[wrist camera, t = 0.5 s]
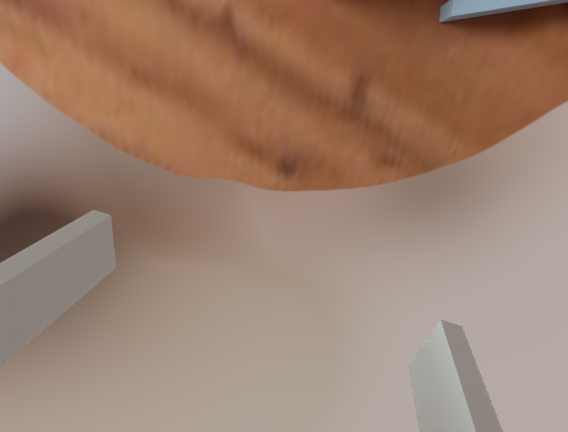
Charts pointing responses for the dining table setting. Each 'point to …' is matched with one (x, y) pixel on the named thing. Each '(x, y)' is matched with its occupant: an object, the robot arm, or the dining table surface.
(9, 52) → the dining table surface
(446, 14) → the corral
